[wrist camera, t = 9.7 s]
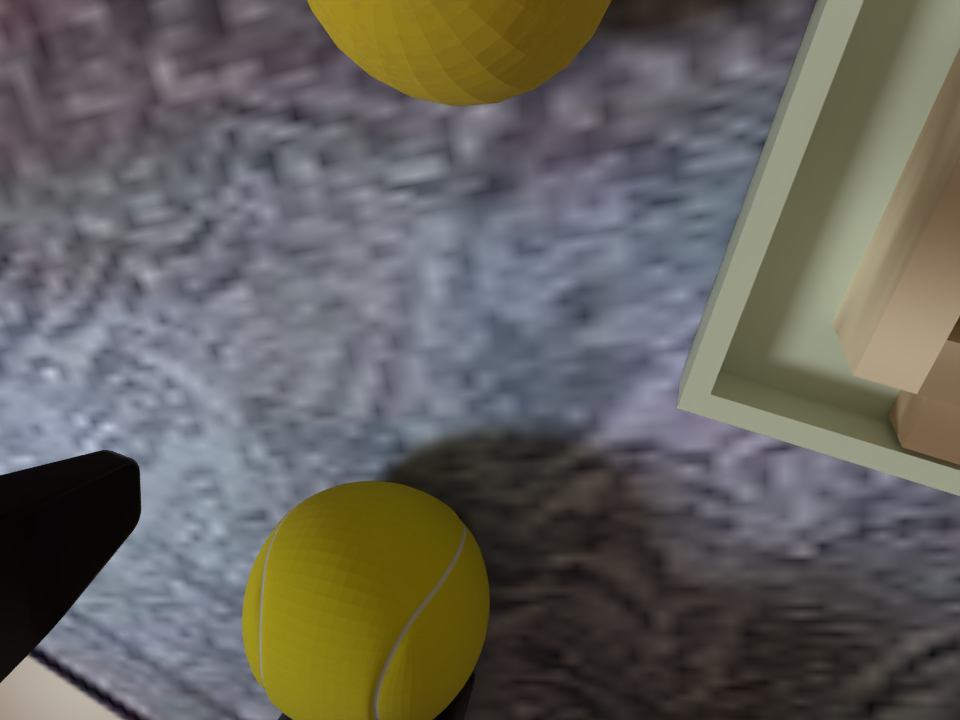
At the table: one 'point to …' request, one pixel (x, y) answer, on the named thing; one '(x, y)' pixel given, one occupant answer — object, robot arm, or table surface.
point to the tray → (822, 237)
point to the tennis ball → (366, 606)
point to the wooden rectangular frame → (915, 290)
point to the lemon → (461, 43)
